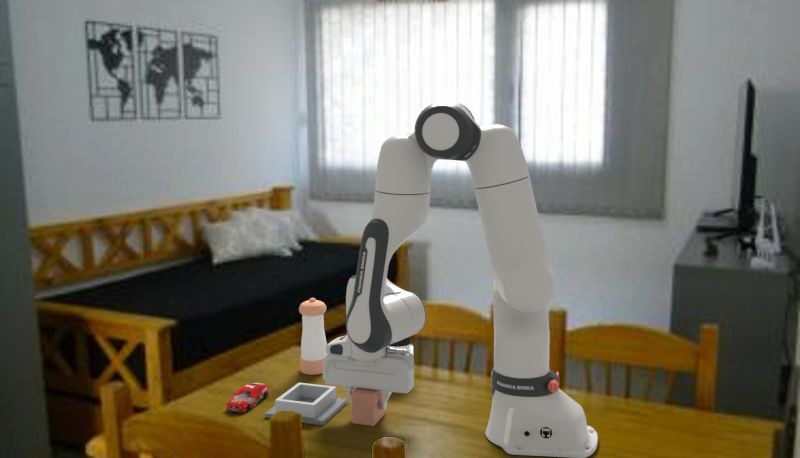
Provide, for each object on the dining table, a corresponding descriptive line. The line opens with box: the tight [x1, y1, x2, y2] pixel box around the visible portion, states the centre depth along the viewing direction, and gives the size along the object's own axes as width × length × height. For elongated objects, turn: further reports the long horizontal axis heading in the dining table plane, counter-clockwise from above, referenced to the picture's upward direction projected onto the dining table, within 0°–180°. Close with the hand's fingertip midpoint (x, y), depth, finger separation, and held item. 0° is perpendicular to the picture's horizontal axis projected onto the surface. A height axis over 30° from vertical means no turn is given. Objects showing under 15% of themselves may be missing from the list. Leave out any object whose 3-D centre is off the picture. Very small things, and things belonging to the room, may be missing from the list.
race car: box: [226, 382, 270, 413], centre depth 176 cm, size 13×5×4 cm, turn 160°
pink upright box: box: [351, 388, 386, 427], centre depth 166 cm, size 5×7×7 cm
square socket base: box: [264, 382, 348, 426], centre depth 171 cm, size 14×13×4 cm
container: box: [388, 336, 415, 373], centre depth 189 cm, size 8×8×13 cm
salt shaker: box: [298, 297, 328, 376], centre depth 196 cm, size 7×7×19 cm
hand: (368, 406), depth 166 cm, fingers closed on pink upright box, 5 cm apart
